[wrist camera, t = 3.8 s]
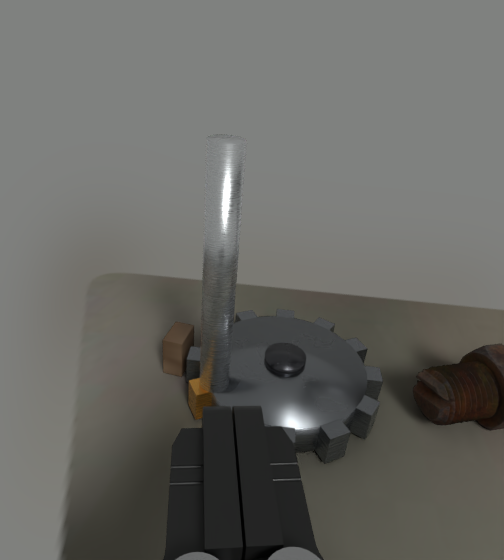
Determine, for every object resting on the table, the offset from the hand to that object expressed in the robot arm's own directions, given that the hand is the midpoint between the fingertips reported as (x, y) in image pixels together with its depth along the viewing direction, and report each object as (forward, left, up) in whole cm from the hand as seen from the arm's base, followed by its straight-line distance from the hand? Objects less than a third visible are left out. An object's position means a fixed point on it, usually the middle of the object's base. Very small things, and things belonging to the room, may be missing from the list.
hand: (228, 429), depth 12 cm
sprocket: (-4, -12, -10) cm, 16 cm away
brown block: (+2, -14, -10) cm, 17 cm away
